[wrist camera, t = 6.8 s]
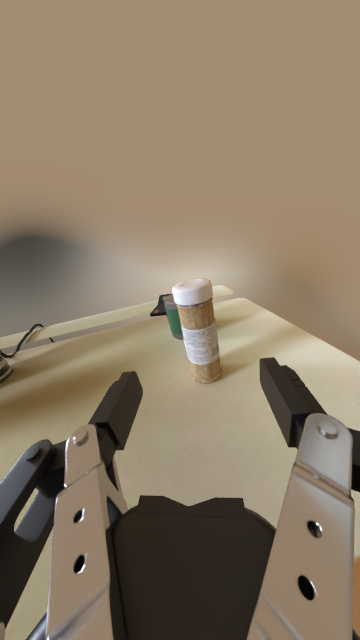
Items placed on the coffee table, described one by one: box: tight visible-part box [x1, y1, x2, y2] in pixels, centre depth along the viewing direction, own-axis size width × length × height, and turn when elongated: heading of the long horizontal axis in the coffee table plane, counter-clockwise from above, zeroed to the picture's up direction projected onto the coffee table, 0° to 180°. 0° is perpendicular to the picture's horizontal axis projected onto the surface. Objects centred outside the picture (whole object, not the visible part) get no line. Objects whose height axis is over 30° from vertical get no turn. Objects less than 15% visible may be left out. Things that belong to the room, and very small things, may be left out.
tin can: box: [164, 294, 184, 340], centre depth 36 cm, size 8×8×8 cm
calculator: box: [150, 294, 171, 316], centre depth 54 cm, size 9×12×3 cm
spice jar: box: [172, 279, 222, 383], centre depth 22 cm, size 5×5×13 cm
